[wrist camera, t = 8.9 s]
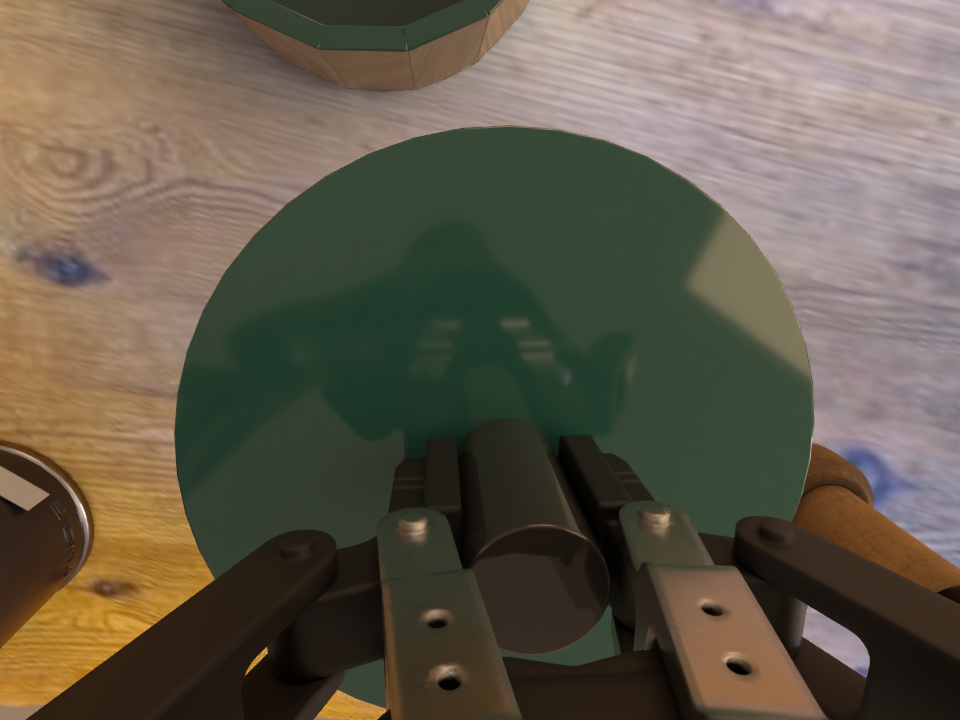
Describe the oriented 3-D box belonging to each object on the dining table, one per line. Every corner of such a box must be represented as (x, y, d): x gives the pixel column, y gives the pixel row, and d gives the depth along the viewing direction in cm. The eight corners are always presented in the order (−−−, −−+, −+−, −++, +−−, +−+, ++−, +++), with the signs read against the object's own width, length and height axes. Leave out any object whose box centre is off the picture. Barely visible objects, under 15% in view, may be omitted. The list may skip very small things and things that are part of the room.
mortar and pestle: (718, 523, 34) (1008, 848, 17) (770, 426, 33) (1142, 673, 16) (813, 554, 35) (1176, 891, 18) (866, 461, 34) (1316, 729, 17)
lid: (228, 703, 17) (118, 963, 11) (153, 127, 13) (-83, 63, 7) (749, 677, 19) (898, 902, 13) (830, 136, 14) (1110, 86, 8)
